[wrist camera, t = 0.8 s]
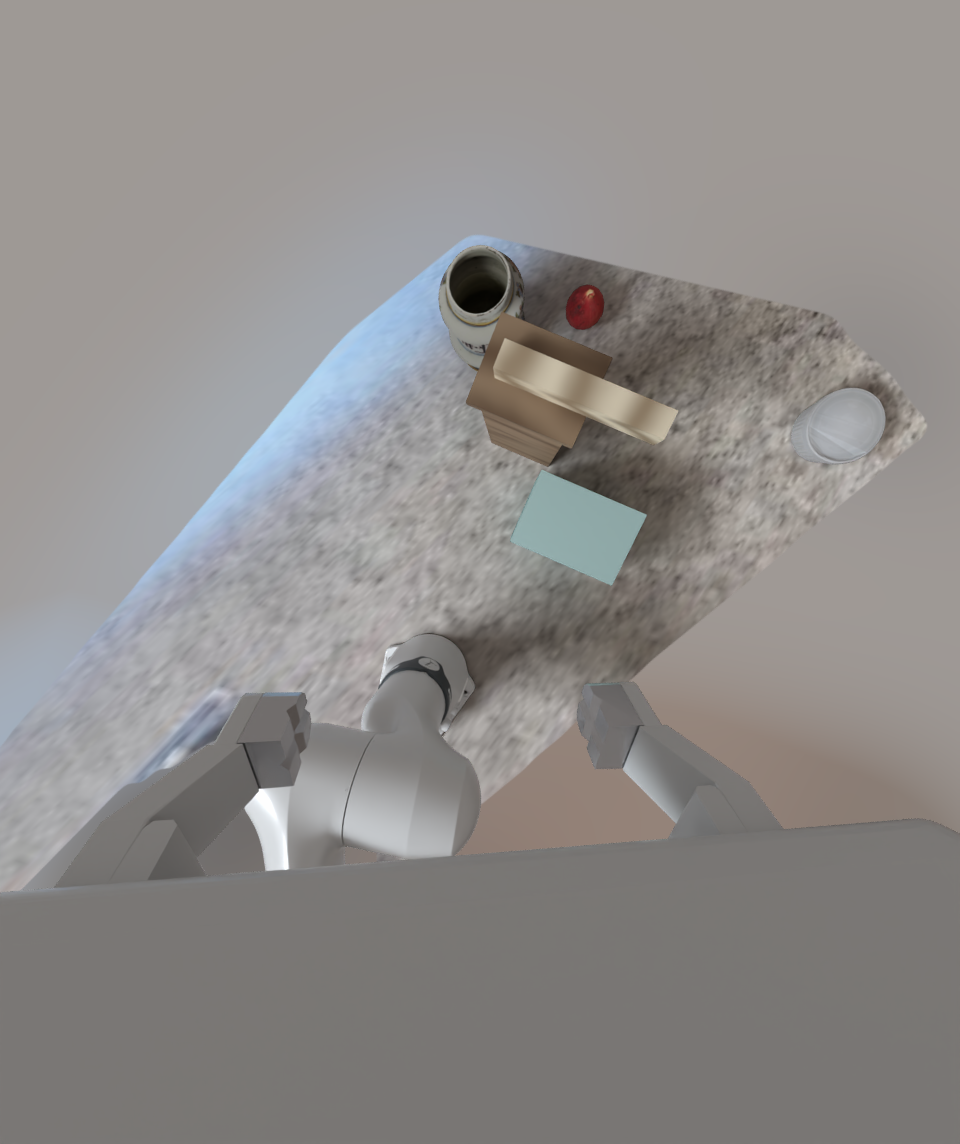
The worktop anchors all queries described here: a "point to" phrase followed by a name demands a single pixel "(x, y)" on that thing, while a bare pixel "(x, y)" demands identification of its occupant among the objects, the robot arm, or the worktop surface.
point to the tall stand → (522, 414)
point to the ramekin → (839, 427)
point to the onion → (584, 307)
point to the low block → (577, 527)
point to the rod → (583, 393)
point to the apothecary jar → (478, 299)
